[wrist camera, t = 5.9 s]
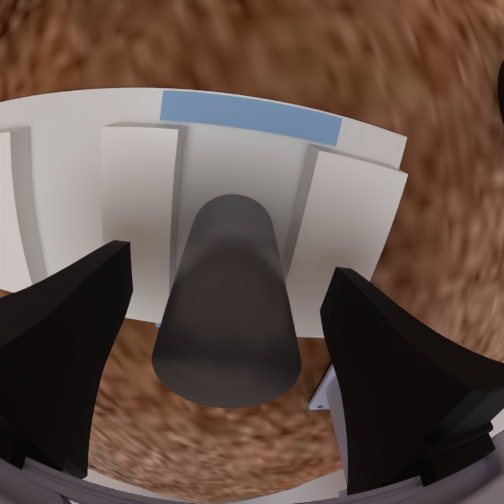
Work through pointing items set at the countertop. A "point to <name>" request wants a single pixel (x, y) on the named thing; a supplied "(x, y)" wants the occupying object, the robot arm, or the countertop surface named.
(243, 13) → the countertop surface
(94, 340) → the robot arm
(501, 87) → the coffee mug
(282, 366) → the dark grey rounded piece
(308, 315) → the white slotted board
